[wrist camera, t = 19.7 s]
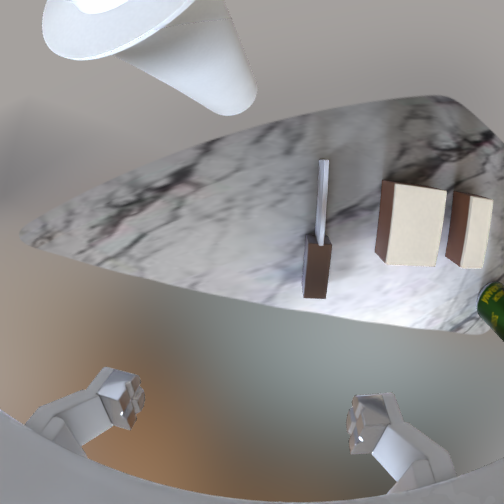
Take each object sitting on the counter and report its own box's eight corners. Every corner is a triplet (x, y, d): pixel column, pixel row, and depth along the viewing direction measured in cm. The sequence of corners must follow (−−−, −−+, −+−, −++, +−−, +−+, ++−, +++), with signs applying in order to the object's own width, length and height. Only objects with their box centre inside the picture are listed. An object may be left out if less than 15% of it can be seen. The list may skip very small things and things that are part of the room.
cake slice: (453, 191, 26) (472, 196, 22) (473, 194, 25) (493, 199, 21) (444, 256, 28) (461, 268, 24) (464, 256, 28) (482, 268, 24)
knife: (309, 158, 27) (313, 158, 23) (332, 160, 26) (339, 160, 23) (301, 284, 31) (303, 301, 27) (322, 285, 30) (326, 301, 27)
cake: (382, 179, 26) (396, 183, 23) (428, 186, 26) (447, 191, 22) (374, 251, 29) (386, 265, 25) (419, 254, 28) (435, 267, 24)
